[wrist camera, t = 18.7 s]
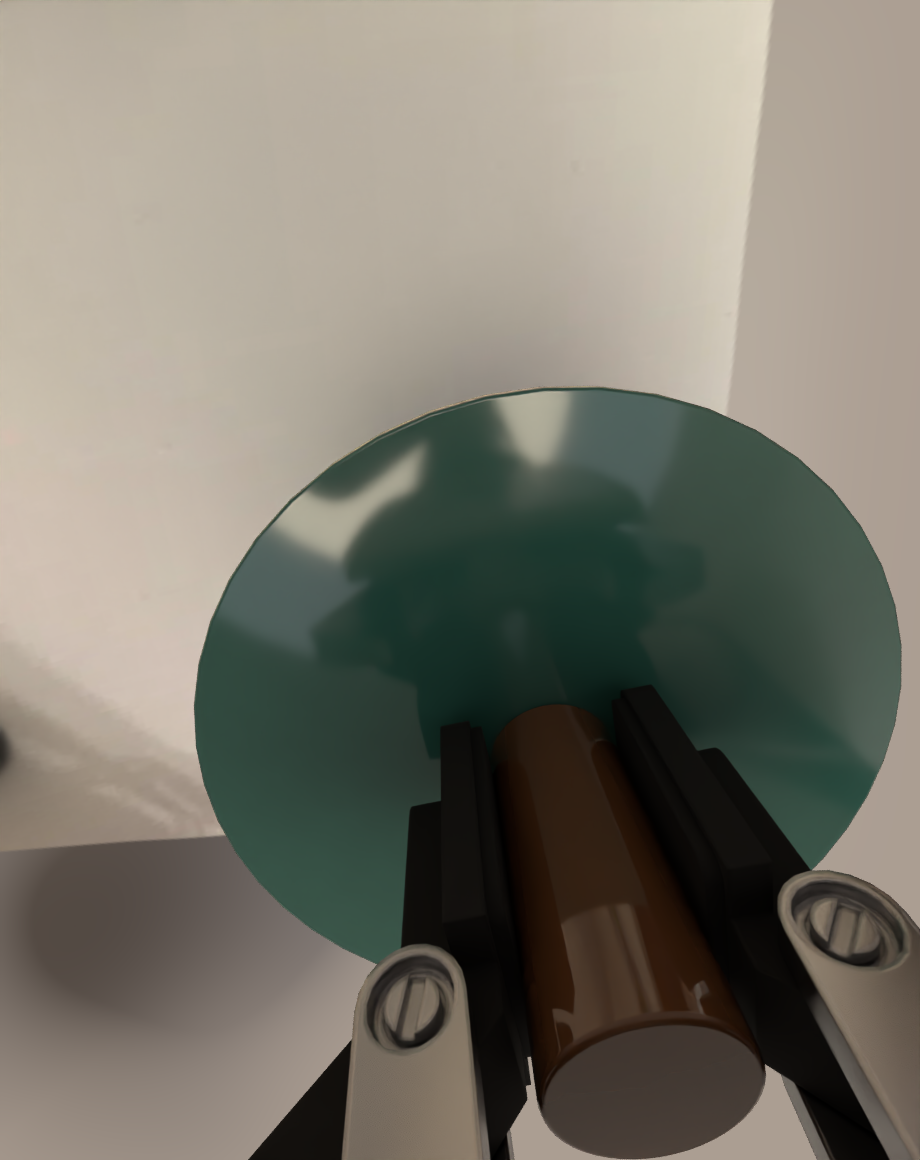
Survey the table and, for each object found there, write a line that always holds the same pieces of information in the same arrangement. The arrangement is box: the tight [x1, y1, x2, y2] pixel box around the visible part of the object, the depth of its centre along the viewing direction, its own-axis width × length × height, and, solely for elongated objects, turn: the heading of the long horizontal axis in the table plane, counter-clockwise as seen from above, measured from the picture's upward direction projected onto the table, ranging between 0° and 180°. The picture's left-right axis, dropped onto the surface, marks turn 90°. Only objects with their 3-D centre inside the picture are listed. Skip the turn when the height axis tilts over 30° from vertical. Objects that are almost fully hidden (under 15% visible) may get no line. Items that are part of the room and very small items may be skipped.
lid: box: [194, 386, 901, 1159], centre depth 9 cm, size 14×14×7 cm
